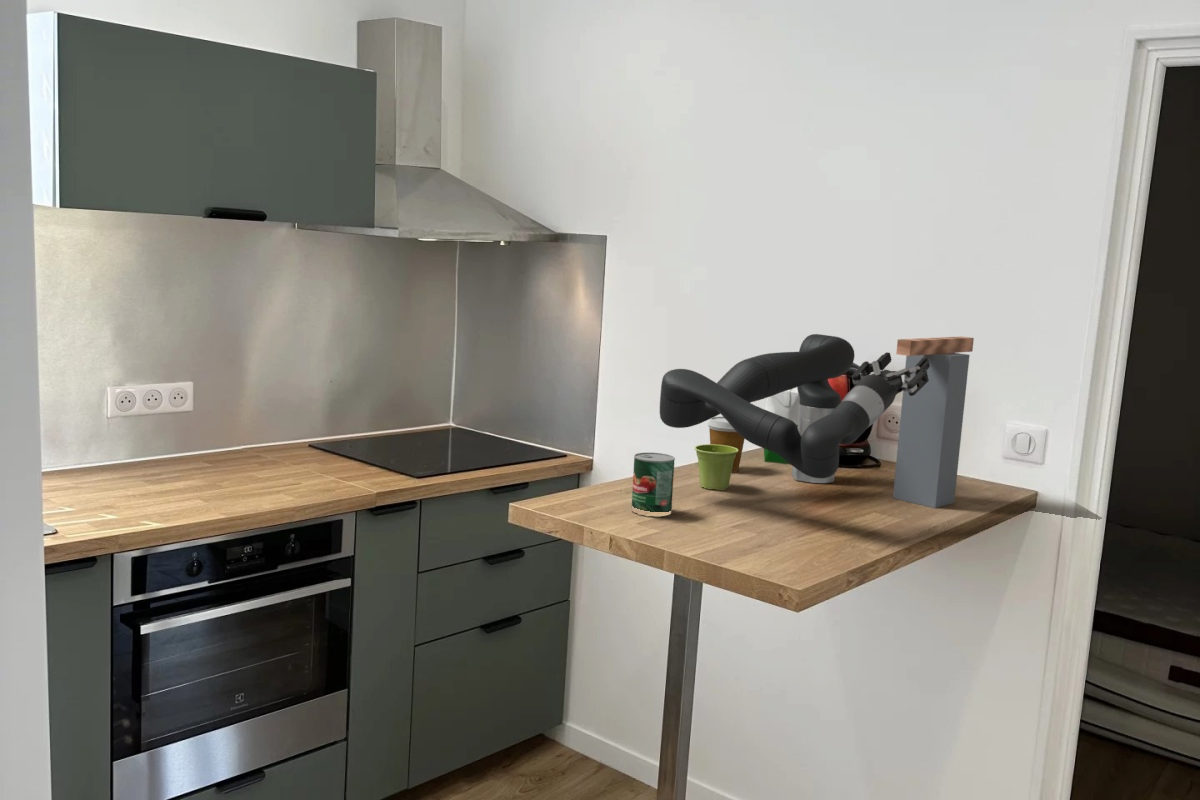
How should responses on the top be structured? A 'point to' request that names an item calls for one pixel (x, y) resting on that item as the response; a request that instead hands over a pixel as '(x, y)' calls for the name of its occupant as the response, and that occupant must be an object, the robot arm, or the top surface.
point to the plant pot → (715, 465)
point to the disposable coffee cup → (726, 437)
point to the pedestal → (932, 432)
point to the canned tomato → (653, 482)
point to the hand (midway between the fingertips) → (907, 358)
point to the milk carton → (785, 407)
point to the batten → (934, 345)
